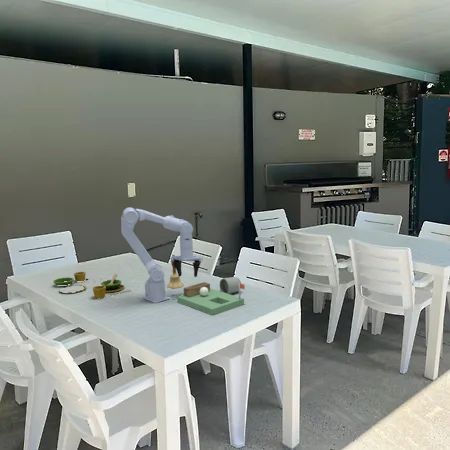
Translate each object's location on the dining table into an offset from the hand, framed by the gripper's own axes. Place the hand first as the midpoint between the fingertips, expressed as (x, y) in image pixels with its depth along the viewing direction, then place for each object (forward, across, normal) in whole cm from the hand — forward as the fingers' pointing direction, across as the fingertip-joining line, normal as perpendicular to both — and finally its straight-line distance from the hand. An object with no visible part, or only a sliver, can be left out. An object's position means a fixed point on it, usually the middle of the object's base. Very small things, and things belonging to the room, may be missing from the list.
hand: (187, 276), depth 204 cm
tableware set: (+10, -54, +4) cm, 55 cm away
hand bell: (+10, -12, +14) cm, 21 cm away
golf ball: (+5, +10, -6) cm, 12 cm away
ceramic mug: (+10, +17, +8) cm, 21 cm away
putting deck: (+9, +13, -8) cm, 18 cm away
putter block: (+7, +5, -4) cm, 9 cm away
